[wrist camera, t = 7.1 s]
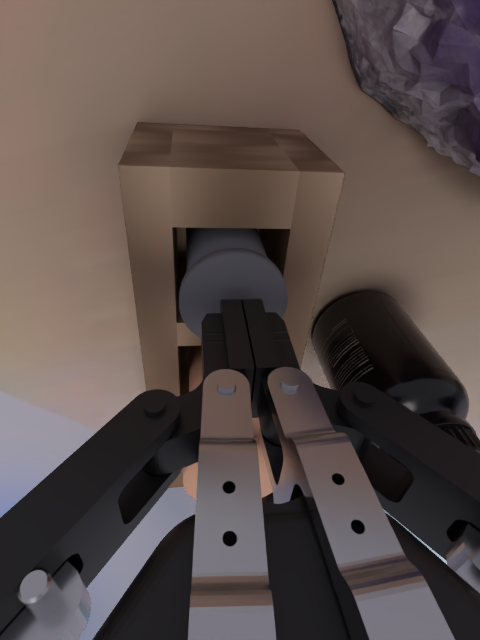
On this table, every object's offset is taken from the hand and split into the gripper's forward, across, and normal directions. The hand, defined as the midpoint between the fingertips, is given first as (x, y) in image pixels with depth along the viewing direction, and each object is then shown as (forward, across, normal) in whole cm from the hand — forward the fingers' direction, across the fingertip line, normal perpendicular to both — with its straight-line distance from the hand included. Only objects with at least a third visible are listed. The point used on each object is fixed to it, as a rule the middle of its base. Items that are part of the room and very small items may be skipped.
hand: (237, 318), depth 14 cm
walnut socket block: (+10, 0, +6) cm, 11 cm away
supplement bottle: (+10, -10, +8) cm, 17 cm away
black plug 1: (+8, 0, 0) cm, 8 cm away
